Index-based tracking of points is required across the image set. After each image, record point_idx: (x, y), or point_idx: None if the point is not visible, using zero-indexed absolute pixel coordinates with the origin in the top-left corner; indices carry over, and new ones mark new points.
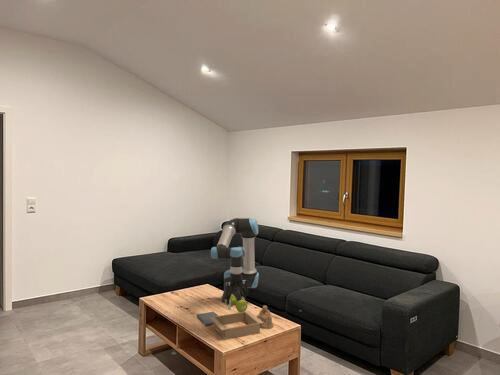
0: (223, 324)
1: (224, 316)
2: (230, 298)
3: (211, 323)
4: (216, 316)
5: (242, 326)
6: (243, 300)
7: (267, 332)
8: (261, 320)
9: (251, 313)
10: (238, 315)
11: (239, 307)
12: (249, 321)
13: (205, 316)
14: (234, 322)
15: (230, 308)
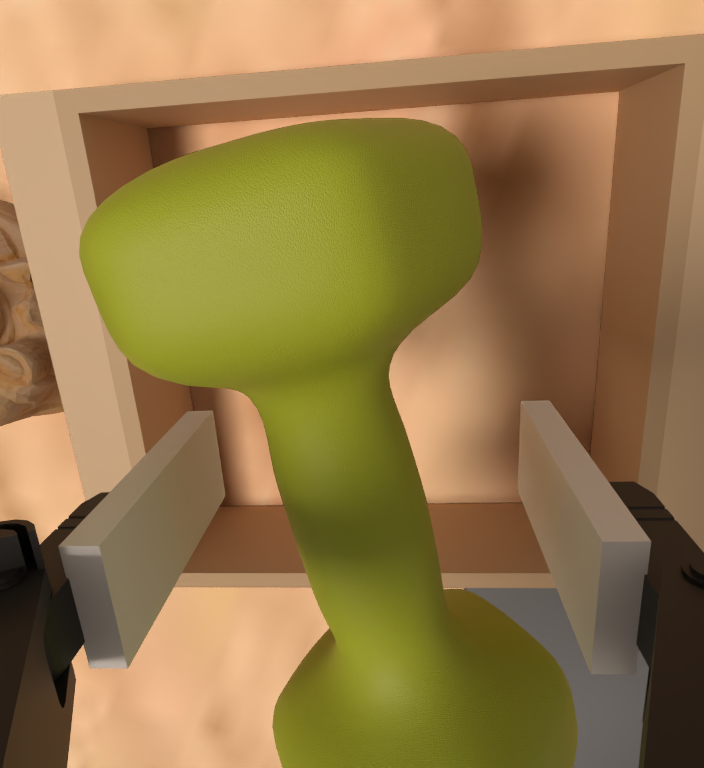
0: (476, 505)
1: (475, 564)
2: (467, 725)
3: None
4: None
5: (376, 63)
6: (165, 229)
7: (26, 85)
8: (11, 304)
9: None
10: (271, 553)
11: (401, 118)
12: (172, 403)
13: (602, 731)
14: None
15: (536, 413)
